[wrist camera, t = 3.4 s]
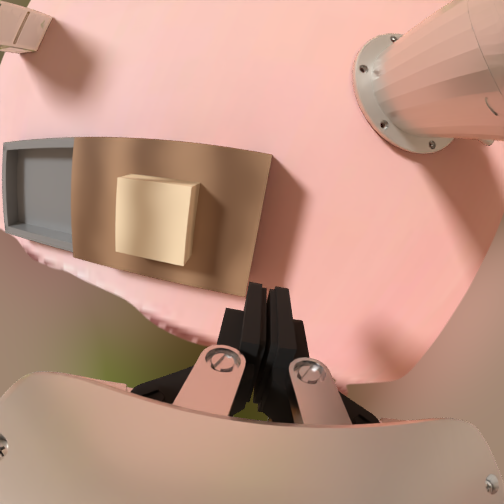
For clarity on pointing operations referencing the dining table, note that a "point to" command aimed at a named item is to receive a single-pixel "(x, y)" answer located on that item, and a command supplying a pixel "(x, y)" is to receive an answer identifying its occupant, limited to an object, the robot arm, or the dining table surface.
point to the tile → (156, 217)
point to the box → (38, 190)
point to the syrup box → (21, 28)
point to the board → (207, 216)
